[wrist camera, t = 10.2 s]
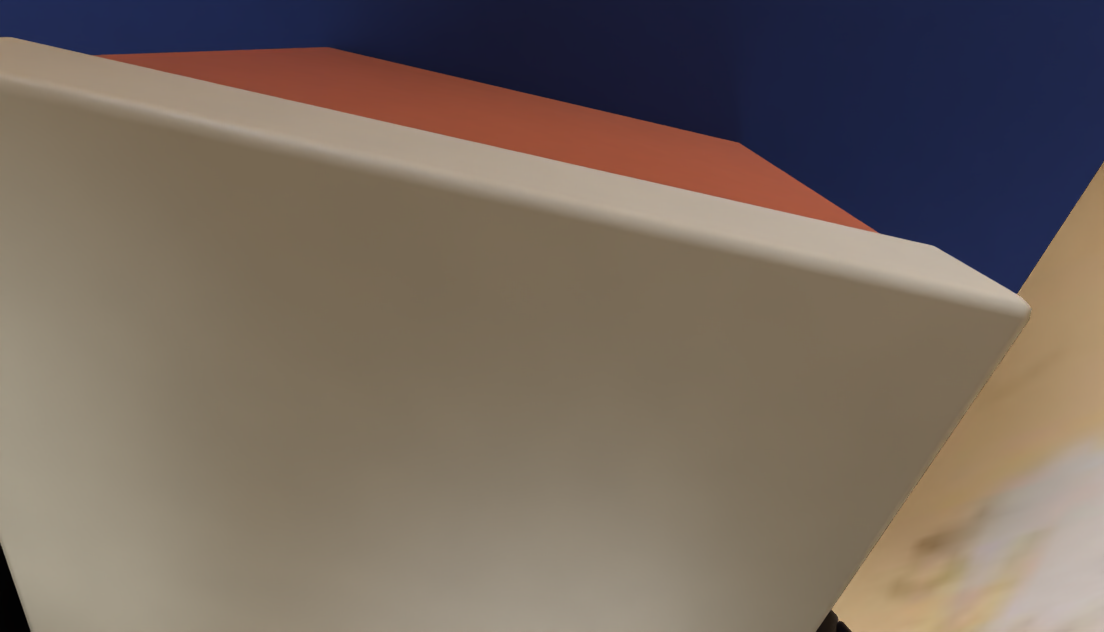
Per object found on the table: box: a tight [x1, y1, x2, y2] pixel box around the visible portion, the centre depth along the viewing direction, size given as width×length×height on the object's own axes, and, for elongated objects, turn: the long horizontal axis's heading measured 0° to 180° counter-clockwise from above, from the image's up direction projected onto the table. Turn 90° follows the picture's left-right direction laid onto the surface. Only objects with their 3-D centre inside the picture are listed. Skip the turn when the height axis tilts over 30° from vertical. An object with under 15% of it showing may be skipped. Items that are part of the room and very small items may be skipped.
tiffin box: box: [0, 37, 1032, 632], centre depth 8 cm, size 10×6×6 cm, turn 168°
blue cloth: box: [0, 0, 1104, 294], centre depth 10 cm, size 16×16×1 cm
